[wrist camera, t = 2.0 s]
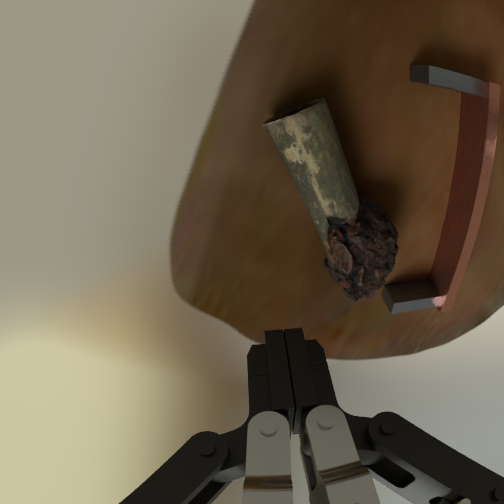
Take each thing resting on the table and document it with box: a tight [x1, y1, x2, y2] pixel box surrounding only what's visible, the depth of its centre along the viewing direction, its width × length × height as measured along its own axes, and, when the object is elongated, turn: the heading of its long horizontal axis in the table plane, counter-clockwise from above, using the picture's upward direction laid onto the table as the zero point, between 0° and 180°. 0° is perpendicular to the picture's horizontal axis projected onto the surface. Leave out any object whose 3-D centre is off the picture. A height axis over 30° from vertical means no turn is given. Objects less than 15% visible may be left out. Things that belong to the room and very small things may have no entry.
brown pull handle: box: [382, 65, 500, 314], centre depth 24 cm, size 8×24×4 cm, turn 3°
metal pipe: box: [263, 98, 399, 302], centre depth 23 cm, size 18×7×6 cm, turn 25°
